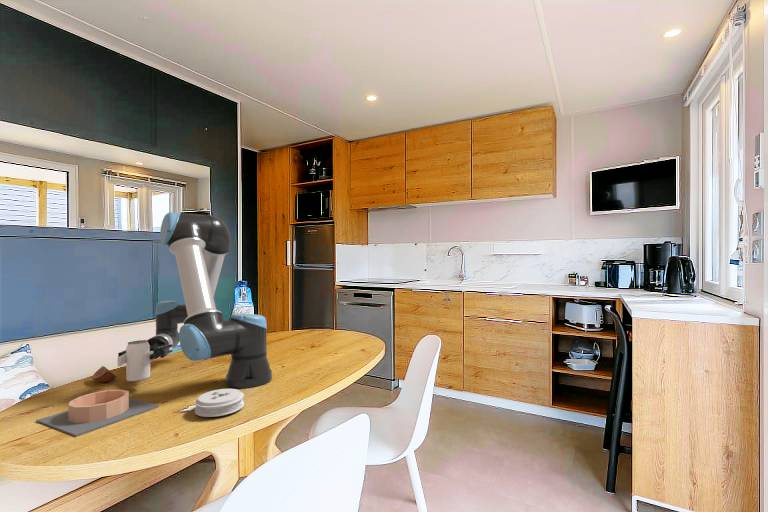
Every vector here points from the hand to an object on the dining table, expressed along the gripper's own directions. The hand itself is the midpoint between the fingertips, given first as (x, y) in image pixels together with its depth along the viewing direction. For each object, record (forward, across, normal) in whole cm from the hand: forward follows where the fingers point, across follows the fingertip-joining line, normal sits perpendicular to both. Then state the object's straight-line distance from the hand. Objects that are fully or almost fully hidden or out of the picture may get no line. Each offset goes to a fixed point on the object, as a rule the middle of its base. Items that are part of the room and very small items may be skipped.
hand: (131, 360), depth 117 cm
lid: (+19, -29, -12) cm, 37 cm away
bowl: (+14, +3, -11) cm, 18 cm away
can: (-5, 0, -7) cm, 9 cm away
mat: (+14, +3, -11) cm, 18 cm away
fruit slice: (-18, +15, -11) cm, 26 cm away
